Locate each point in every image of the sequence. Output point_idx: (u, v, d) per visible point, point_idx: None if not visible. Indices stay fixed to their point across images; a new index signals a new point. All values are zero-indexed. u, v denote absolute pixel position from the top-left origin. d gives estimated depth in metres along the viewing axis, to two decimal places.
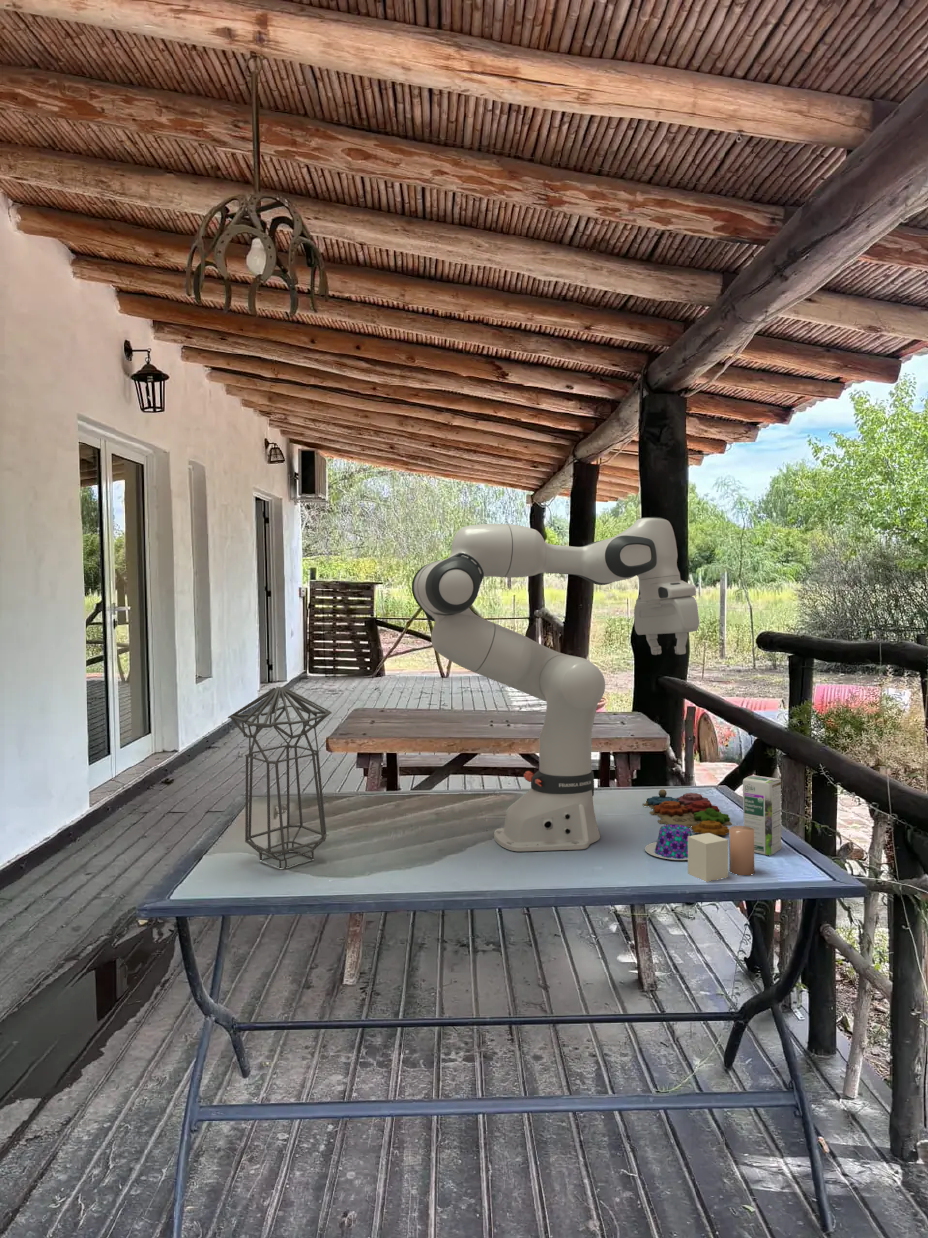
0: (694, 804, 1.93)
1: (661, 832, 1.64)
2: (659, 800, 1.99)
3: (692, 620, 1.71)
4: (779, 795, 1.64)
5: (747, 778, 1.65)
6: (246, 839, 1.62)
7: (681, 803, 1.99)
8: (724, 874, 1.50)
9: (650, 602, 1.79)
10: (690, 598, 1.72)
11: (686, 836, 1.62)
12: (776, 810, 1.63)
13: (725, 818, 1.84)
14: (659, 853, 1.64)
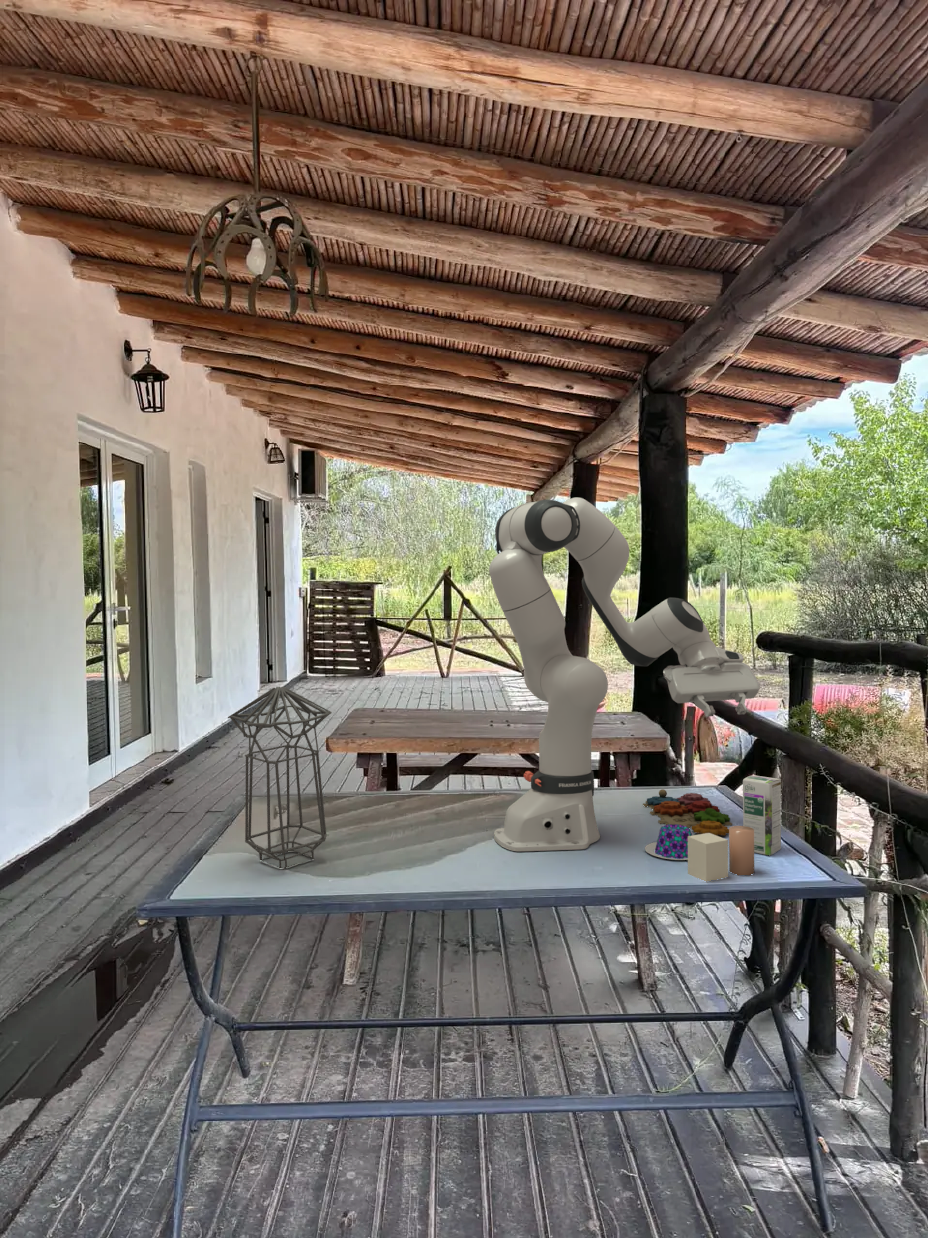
0: (694, 804, 1.92)
1: (661, 832, 1.64)
2: (659, 800, 1.98)
3: None
4: (779, 795, 1.64)
5: (747, 778, 1.65)
6: (246, 839, 1.62)
7: (681, 803, 1.99)
8: (724, 874, 1.50)
9: (712, 662, 1.82)
10: None
11: (686, 836, 1.62)
12: (776, 810, 1.63)
13: (725, 818, 1.84)
14: (659, 853, 1.64)
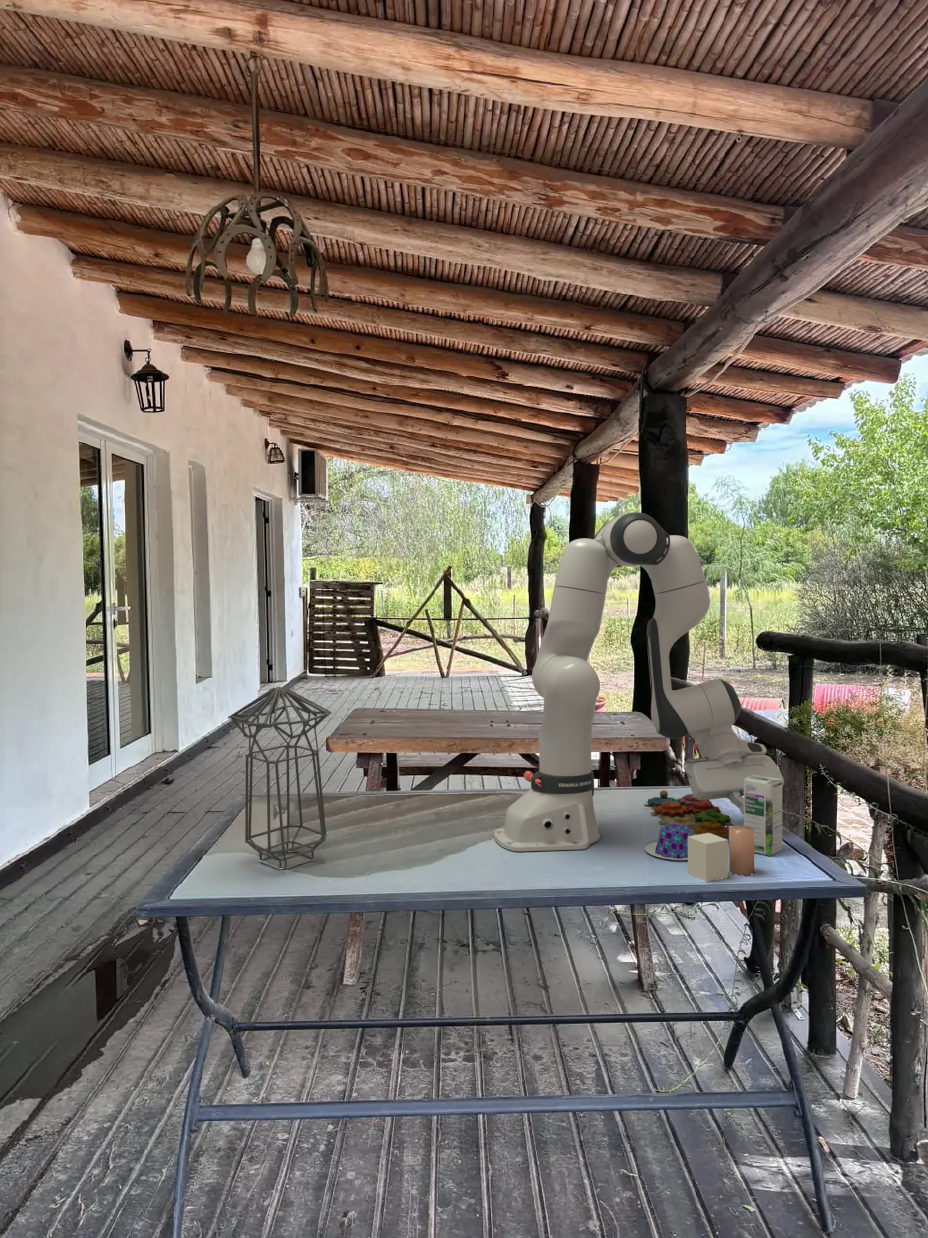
0: (695, 805, 1.92)
1: (661, 832, 1.64)
2: (660, 801, 1.98)
3: None
4: (780, 795, 1.64)
5: (748, 778, 1.65)
6: (246, 839, 1.62)
7: (682, 804, 1.98)
8: (724, 874, 1.50)
9: (735, 756, 1.75)
10: None
11: (685, 836, 1.62)
12: (777, 810, 1.63)
13: (726, 819, 1.83)
14: (659, 853, 1.64)
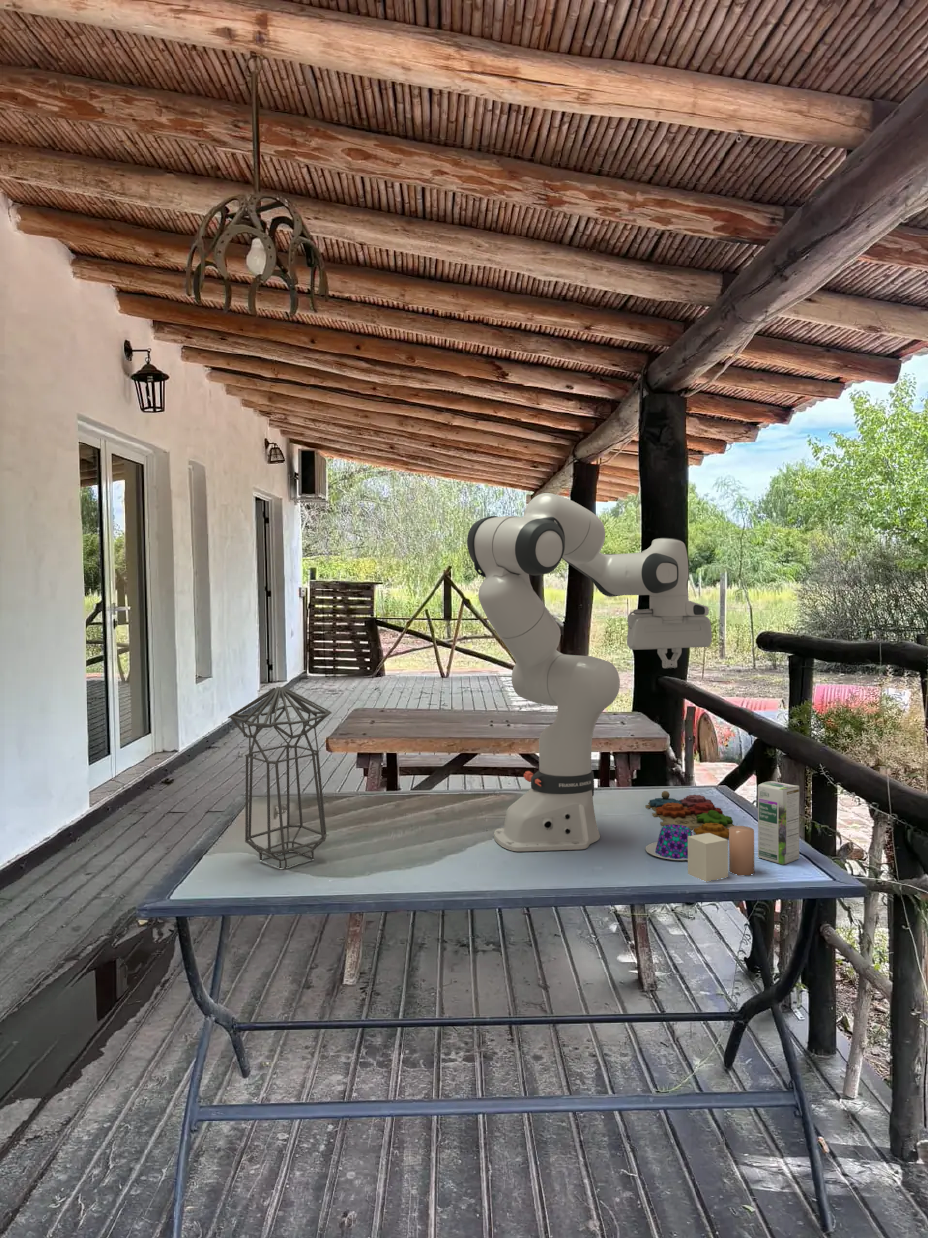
0: (697, 806, 1.91)
1: (661, 831, 1.65)
2: (662, 802, 1.97)
3: None
4: (796, 802, 1.58)
5: (763, 784, 1.60)
6: (246, 839, 1.62)
7: (684, 805, 1.97)
8: (724, 874, 1.50)
9: (676, 618, 1.89)
10: None
11: (684, 836, 1.62)
12: (792, 818, 1.58)
13: (728, 820, 1.82)
14: (658, 852, 1.64)
